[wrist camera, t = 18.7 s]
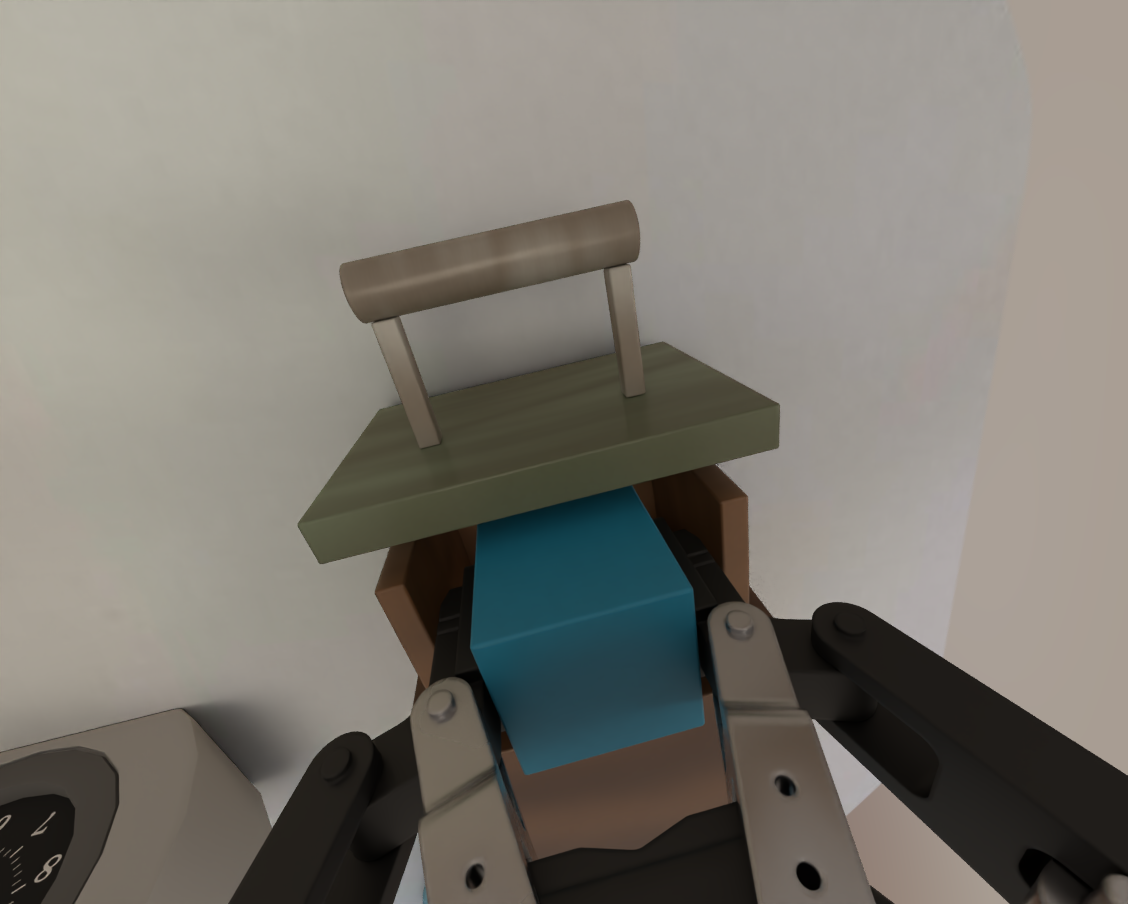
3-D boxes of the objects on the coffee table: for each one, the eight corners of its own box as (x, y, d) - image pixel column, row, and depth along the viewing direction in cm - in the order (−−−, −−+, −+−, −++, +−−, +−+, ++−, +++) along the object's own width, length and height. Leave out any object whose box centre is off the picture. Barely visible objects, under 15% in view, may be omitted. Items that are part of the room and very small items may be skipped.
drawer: (321, 274, 14) (161, 296, 7) (649, 200, 15) (787, 157, 8) (478, 647, 23) (472, 826, 16) (688, 591, 23) (773, 740, 16)
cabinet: (437, 564, 21) (398, 781, 12) (685, 501, 22) (811, 666, 13) (512, 739, 28) (521, 962, 19) (702, 687, 28) (794, 880, 20)
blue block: (629, 479, 12) (694, 588, 8) (647, 593, 14) (706, 726, 10) (476, 517, 12) (468, 648, 8) (515, 628, 14) (524, 778, 10)
